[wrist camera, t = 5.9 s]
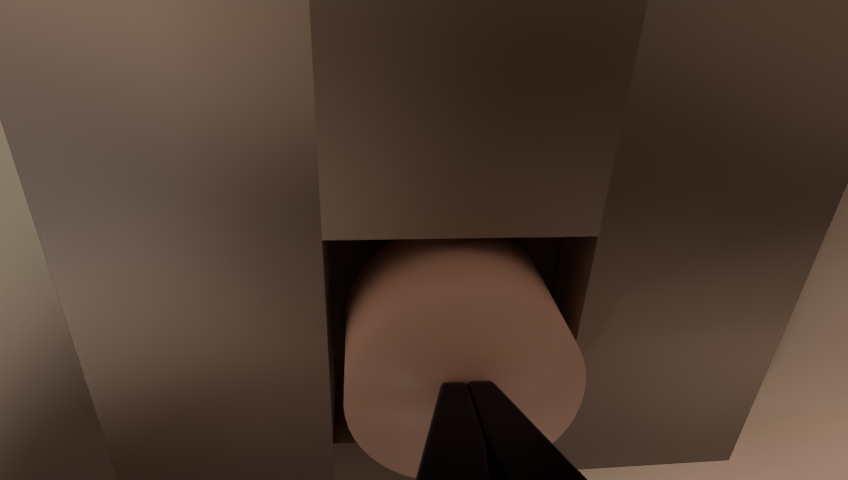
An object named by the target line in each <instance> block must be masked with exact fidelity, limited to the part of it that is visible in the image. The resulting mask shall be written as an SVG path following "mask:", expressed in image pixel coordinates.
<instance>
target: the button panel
mask: <svg viewBox="0 0 848 480" xmlns="http://www.w3.org/2000/svg"><path fill="white" fill-rule="evenodd" d="M0 119H1V123H2V126H3V129H4V132H5V135H6V138H7V141H8V144H9V147H10V150H11V153H12V156H13V159H14V162H15V166H16V169H17V172H18V175H19V178H20V181H21V184H22V187H23V190H24V193H25V196H26V199H27V202H28V205H29V209H30V212H31V215H32V218H33V221H34V224H35V227H36V230H37V233H38V236H39V239H40V242H41V245H42V248H43V252H44V255H45V258H46V261H47V264H48V267H49V270H50V273H51V276H52V279H53V282H54V285H55V288H56V291H57V295H58V298H59V301H60V304H61V307H62V310H63V313H64V316H65V319H66V322H67V325H68V328H69V331H70V334H71V338H72V341H73V344H74V347H75V350H76V353H77V356H78V359H79V362H80V365H81V368H82V371H83V374H84V377H85V381H86V384H87V387H88V390H89V393H90V396H91V399H92V402H93V405H94V408H95V411H96V414H97V417H98V420H99V424H100V427H101V430H102V433H103V436H104V439H105V442H106V445H107V448H108V451H109V454H110V457H111V460H112V463H113V467H114V470H115V473H116V476H117V479H118V480H415V479H416V478H413V477H409V476H405V475H402V474H400V473H397V472H395V471H392V470H390V469H388V468H387V467H385V466H383V465H381V464H379V463H378V462H377V461H375V460H374V459H373V458H371V457H370V456H369V455H368V454H367V453H366V452H365V451H364V450H363V449H362V448H361V447H360V446H359V445H358V443H357V442H356V441H355V439H354V438H353V436H352V434H351V432H350V430H349V428H348V425H347V422H346V419H345V414H344V406H343V402H344V390H336V389H335V367H334V346H333V325H332V304H331V283H330V262H329V241H328V240H384V239H452V238H520V237H562V242H561V248H560V254H559V259H558V265H557V270H556V276H555V282H554V287H553V293H552V298H553V300H554V301H555V303H556V305H557V307H558V309H559V311H560V313H561V315H562V316H563V318H564V320H565V322H566V324H567V326H568V328H569V329H570V331H571V333H572V335H573V337H574V339H575V341H576V343H577V344H578V346H579V348H580V351H581V353H582V356H583V359H584V363H585V368H586V386H585V393H584V396H583V400H582V403H581V406H580V408H579V410H578V412H577V414H576V416H575V418H574V419H573V421H572V422H571V424H570V425H569V427H568V428H567V429H566V430H565V431H564V433H563V434H562V435H561V436H560V437H559V438H558V439H557V440H556V441H555V442H554V443H553V445H554V446H555V447H556V448H557V449H558V450H559V451H560V452H561V453H562V454H563V455H564V456H565V457H566V458H567V459H568V460H569V461H570V462H571V463H572V464H573V465H574V467H575V468H576V469H592V468H609V467H625V466H641V465H657V464H673V463H689V462H706V461H722V460H729V458H730V456H731V454H732V451H733V449H734V447H735V444H736V442H737V440H738V437H739V435H740V433H741V430H742V428H743V426H744V423H745V421H746V419H747V416H748V414H749V412H750V409H751V407H752V405H753V402H754V400H755V398H756V395H757V393H758V391H759V388H760V386H761V384H762V381H763V379H764V377H765V374H766V372H767V370H768V367H769V365H770V363H771V360H772V358H773V356H774V353H775V351H776V349H777V346H778V344H779V342H780V339H781V337H782V335H783V332H784V330H785V328H786V325H787V323H788V321H789V318H790V316H791V314H792V311H793V309H794V307H795V304H796V302H797V300H798V297H799V295H800V293H801V290H802V288H803V286H804V283H805V281H806V279H807V276H808V274H809V272H810V269H811V267H812V265H813V262H814V260H815V258H816V255H817V253H818V251H819V248H820V246H821V244H822V241H823V239H824V237H825V234H826V232H827V230H828V227H829V225H830V223H831V220H832V218H833V216H834V213H835V211H836V209H837V206H838V204H839V202H840V199H841V197H842V195H843V192H844V190H845V188H846V185H847V183H848V0H0Z"/></svg>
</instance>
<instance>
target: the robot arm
mask: <svg viewBox="0 0 848 480" xmlns="http://www.w3.org/2000/svg"><path fill="white" fill-rule="evenodd" d="M416 480H587V479H586V478H585V477H584V476H583V475H582V474H581V473H580V472H579V471H578V470H577V469H576V468H575V467H574V465H573V464H572V463H571V462H570V461H569V460H568V459H567V458H566V457H565V456H564V455H563V454H562V453H561V452H560V451H559V450H558V449H557V448H556V447H555V446H554V445H553V444H552V443H551V441H550V440H549V439H548V438H547V437H546V436H545V435H544V434H543V433H542V432H541V431H540V430H539V429H538V428H537V427H536V426H535V425H534V424H533V423H532V422H531V421H530V420H529V419H528V417H527V416H526V415H525V414H524V413H523V412H522V411H521V410H520V409H519V408H518V407H517V406H516V405H515V404H514V403H513V402H512V401H511V400H510V399H509V398H508V397H507V396H506V395H505V393H504V392H503V391H502V390H501V389H500V388H499V387H498V386H497V385H496V384H495V383H494V382H492V381H489V380H485V381H470V382H469V383H467V384H466V383H465V382H444V383H442V384H441V386H440V390H439V394H438V397H437V401H436V405H435V409H434V412H433V416H432V420H431V424H430V427H429V431H428V435H427V439H426V442H425V446H424V450H423V454H422V457H421V461H420V465H419V469H418V472H417V476H416Z"/></svg>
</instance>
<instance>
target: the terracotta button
mask: <svg viewBox="0 0 848 480" xmlns="http://www.w3.org/2000/svg"><path fill="white" fill-rule="evenodd" d="M485 380H489V381H492V382H494V383H495V384H496V385H497V386H498V387H499V388H500V389H501V390H502V391H503V392H504V393H505V395H506V396H507V397H508V398H509V399H510V400H511V401H512V402H513V403H514V404H515V405H516V406H517V407H518V408H519V409H520V410H521V411H522V412H523V413H524V414H525V415H526V416H527V417H528V419H529V420H530V421H531V422H532V423H533V424H534V425H535V426H536V427H537V428H538V429H539V430H540V431H541V432H542V433H543V434H544V435H545V436H546V437H547V438H548V439H549V440H550V441H551V443H552V444H553V443H554V442H555V441H556V440H557V439H558V438H559V437H560V436H561V435H562V434H563V433H564V431H565V430H566V429H567V428H568V427H569V425H570V424H571V422H572V421H573V419H574V418H575V416H576V414H577V412H578V410H579V408H580V406H581V403H582V400H583V396H584V393H585V386H586V368H585V363H584V359H583V356H582V353H581V351H580V348H579V346H578V344H577V343H576V341H575V339H574V337H573V335H572V333H571V331H570V329H569V328H568V326H567V324H566V322H565V320H564V318H563V316H562V315H561V313H560V311H559V309H558V307H557V305H556V303H555V301H554V300H553V298H552V296H551V294H550V292H549V290H548V288H547V287H546V285H545V283H544V281H543V279H542V277H541V275H540V274H539V272H538V270H537V268H536V266H535V265H534V263H533V261H532V260H531V258H530V257H529V256H528V255H527V254H526V253H525V251H524V250H523V249H521V248H520V247H519V246H518V245H517V244H516V243H514V242H513V241H511V240H510V239H508V238H452V239H395V240H394V241H392V242H390V243H389V244H387V245H385V246H384V247H383V248H382V249H380V250H379V251H378V252H376V253H375V254H374V255H373V256H372V257H371V258H370V259H369V260H368V261H367V262H366V264H365V265H364V266H363V268H362V269H361V270H360V272H359V273H358V275H357V277H356V279H355V280H354V282H353V284H352V287H351V290H350V292H349V296H348V301H347V308H346V336H345V369H344V402H343V406H344V414H345V419H346V422H347V425H348V428H349V430H350V432H351V434H352V436H353V438H354V439H355V441H356V442H357V443H358V445H359V446H360V447H361V448H362V449H363V450H364V451H365V452H366V453H367V454H368V455H369V456H370V457H371V458H373V459H374V460H375V461H377V462H378V463H379V464H381V465H383V466H385V467H387V468H388V469H390V470H392V471H395V472H397V473H400V474H402V475H405V476H409V477H413V478H416V476H417V472H418V469H419V465H420V461H421V457H422V454H423V450H424V446H425V442H426V439H427V435H428V431H429V427H430V424H431V420H432V416H433V412H434V409H435V405H436V401H437V397H438V394H439V390H440V386H441V384H442V383H444V382H465V383H466V384H467V383H469V382H470V381H485Z"/></svg>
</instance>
